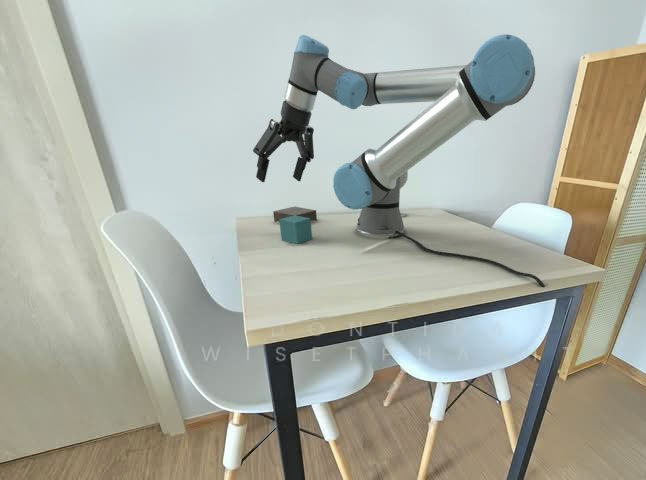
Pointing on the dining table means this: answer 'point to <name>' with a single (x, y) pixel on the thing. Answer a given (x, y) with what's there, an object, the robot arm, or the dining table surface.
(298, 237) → the block
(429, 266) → the dining table surface
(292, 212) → the block
